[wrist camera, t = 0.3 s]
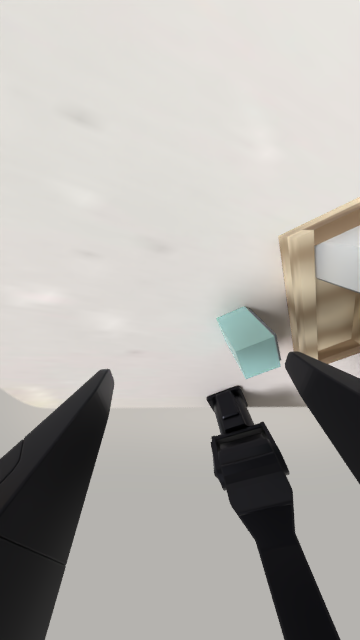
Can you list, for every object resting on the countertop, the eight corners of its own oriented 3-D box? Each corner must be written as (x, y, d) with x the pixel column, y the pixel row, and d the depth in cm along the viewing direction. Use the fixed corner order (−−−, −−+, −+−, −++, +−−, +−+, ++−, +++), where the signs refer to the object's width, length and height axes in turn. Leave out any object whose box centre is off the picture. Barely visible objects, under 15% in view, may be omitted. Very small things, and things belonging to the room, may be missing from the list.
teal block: (226, 341, 25) (245, 379, 19) (216, 318, 23) (235, 351, 17) (254, 330, 24) (284, 365, 18) (247, 304, 22) (278, 334, 16)
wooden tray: (351, 336, 26) (371, 348, 24) (294, 357, 28) (308, 370, 25) (365, 194, 17) (402, 188, 14) (278, 236, 18) (297, 237, 16)
